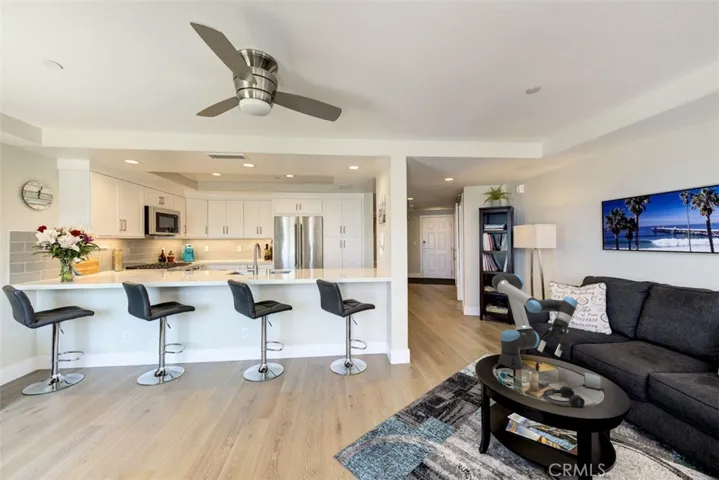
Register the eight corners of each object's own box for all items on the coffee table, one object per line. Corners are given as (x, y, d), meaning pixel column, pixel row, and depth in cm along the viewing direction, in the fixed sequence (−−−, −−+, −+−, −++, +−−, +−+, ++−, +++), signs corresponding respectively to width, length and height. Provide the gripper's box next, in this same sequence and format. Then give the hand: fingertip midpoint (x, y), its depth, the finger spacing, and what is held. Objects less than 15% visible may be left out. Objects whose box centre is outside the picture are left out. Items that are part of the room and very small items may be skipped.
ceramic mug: (602, 391, 170) (602, 378, 170) (584, 388, 174) (584, 374, 174) (599, 385, 179) (599, 371, 179) (582, 381, 183) (582, 368, 183)
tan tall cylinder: (528, 389, 169) (527, 367, 169) (531, 387, 171) (531, 365, 172) (536, 392, 165) (536, 369, 166) (540, 390, 168) (539, 367, 168)
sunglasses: (499, 376, 190) (500, 368, 190) (525, 385, 182) (526, 377, 182) (495, 385, 178) (496, 376, 178) (523, 394, 170) (525, 386, 170)
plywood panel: (520, 391, 169) (520, 389, 169) (535, 383, 180) (535, 381, 180) (539, 399, 161) (539, 396, 161) (553, 390, 171) (553, 387, 171)
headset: (591, 388, 152) (549, 390, 155) (594, 408, 151) (552, 409, 154) (576, 377, 165) (538, 379, 168) (579, 395, 165) (540, 396, 167)
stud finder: (534, 385, 174) (534, 381, 174) (539, 382, 177) (539, 378, 177) (543, 388, 170) (543, 384, 170) (548, 386, 173) (548, 381, 173)
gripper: (585, 327, 167) (570, 361, 162) (551, 322, 191) (538, 352, 187) (574, 319, 167) (559, 353, 162) (541, 316, 191) (528, 345, 187)
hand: (548, 353), depth 175 cm, fingers open, 13 cm apart
